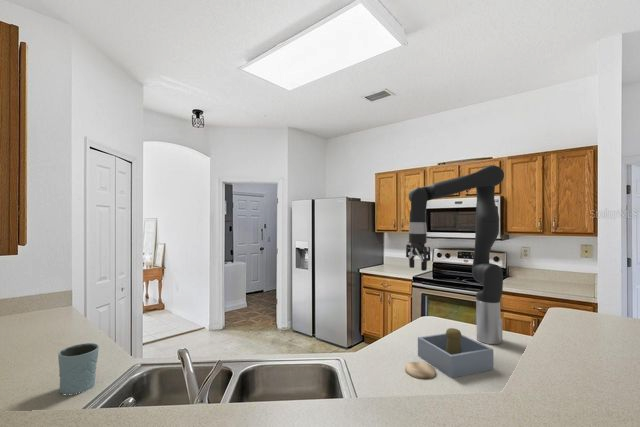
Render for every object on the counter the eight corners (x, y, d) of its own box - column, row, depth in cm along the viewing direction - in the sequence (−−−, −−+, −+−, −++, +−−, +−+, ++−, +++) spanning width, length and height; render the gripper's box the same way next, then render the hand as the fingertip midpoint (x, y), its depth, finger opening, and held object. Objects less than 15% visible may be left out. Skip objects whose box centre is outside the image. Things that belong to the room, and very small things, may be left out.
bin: (455, 349, 127) (455, 331, 127) (493, 369, 110) (493, 349, 110) (417, 355, 122) (417, 337, 122) (451, 377, 105) (451, 356, 105)
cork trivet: (423, 363, 115) (423, 360, 115) (442, 375, 106) (442, 372, 106) (399, 367, 112) (399, 364, 112) (416, 380, 103) (416, 377, 103)
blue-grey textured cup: (68, 381, 102) (69, 344, 102) (104, 378, 105) (104, 341, 105) (49, 399, 92) (50, 357, 93) (89, 394, 95) (89, 354, 95)
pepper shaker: (464, 363, 112) (464, 332, 113) (446, 362, 113) (446, 331, 114) (460, 356, 118) (460, 327, 119) (443, 355, 119) (443, 326, 120)
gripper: (435, 233, 136) (435, 271, 136) (414, 231, 149) (414, 266, 149) (420, 233, 133) (420, 272, 133) (401, 232, 147) (401, 267, 147)
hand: (417, 269), depth 141 cm, fingers open, 8 cm apart
